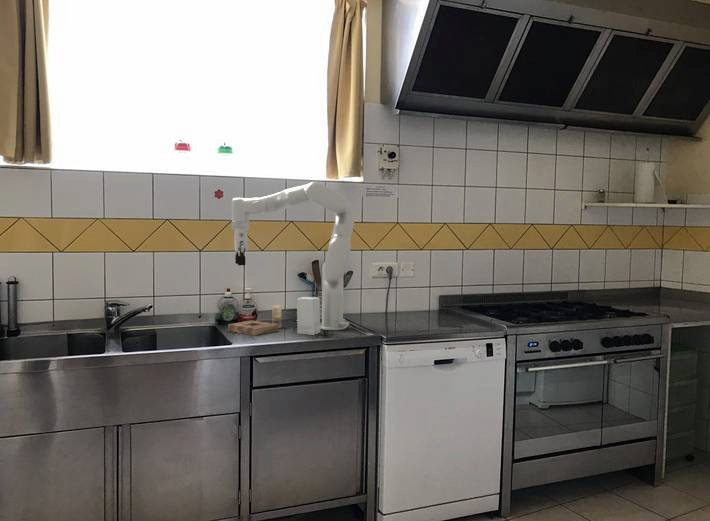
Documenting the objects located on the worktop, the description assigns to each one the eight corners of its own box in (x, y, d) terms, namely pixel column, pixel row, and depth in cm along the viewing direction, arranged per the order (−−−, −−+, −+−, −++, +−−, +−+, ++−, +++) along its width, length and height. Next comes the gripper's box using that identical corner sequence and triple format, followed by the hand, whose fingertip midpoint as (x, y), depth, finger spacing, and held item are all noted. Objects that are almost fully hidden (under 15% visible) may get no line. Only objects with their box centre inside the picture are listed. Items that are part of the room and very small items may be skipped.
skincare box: (320, 333, 258) (321, 297, 257) (313, 335, 252) (313, 299, 251) (303, 331, 262) (304, 296, 261) (296, 334, 256) (296, 297, 255)
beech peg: (283, 327, 270) (283, 305, 270) (277, 328, 267) (277, 306, 266) (276, 326, 273) (276, 304, 272) (270, 327, 269) (270, 305, 269)
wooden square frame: (277, 331, 262) (277, 324, 261) (255, 335, 250) (255, 328, 250) (251, 327, 271) (251, 320, 271) (228, 331, 259) (228, 324, 259)
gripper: (251, 226, 257) (251, 265, 258) (246, 225, 274) (246, 263, 275) (233, 225, 255) (233, 266, 256) (229, 225, 272) (229, 263, 273)
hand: (240, 264), depth 266 cm, fingers open, 9 cm apart
